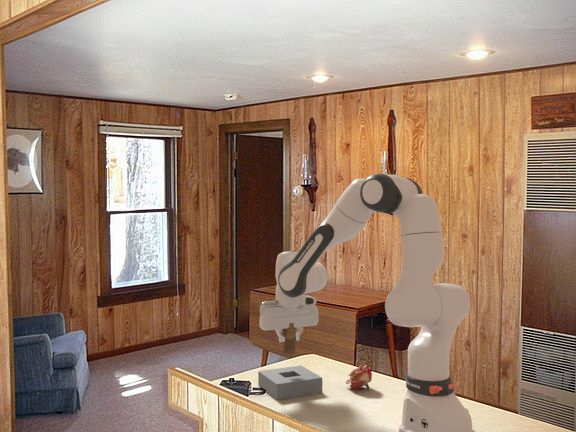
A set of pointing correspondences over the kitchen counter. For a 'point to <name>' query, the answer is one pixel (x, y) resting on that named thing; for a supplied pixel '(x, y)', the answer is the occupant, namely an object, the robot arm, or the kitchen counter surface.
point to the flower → (360, 377)
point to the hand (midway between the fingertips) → (289, 341)
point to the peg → (289, 339)
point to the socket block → (290, 382)
